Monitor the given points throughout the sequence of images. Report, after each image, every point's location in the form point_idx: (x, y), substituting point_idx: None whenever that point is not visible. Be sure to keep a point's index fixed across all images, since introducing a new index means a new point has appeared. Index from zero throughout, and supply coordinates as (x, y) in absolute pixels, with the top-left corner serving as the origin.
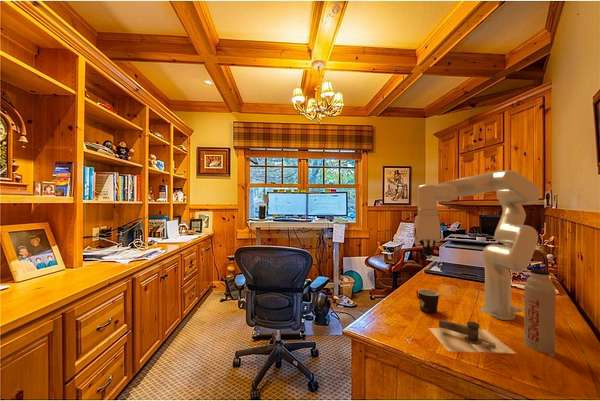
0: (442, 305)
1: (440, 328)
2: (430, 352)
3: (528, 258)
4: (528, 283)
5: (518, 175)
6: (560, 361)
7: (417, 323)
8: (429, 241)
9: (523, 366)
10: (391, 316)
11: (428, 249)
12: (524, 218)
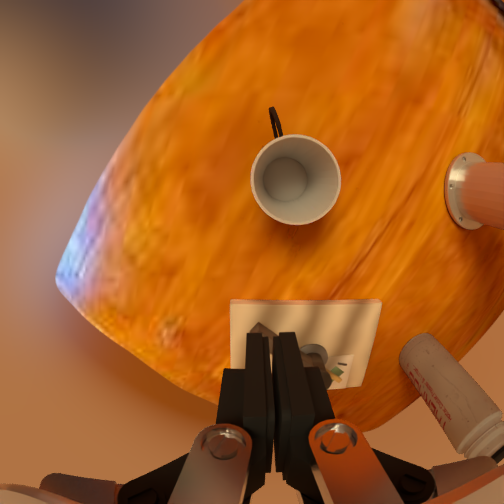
0: (366, 110)
1: (264, 305)
2: (200, 375)
3: None
4: (470, 442)
5: None
6: None
7: (218, 249)
8: (356, 494)
9: (347, 398)
10: (151, 204)
11: (275, 446)
12: None
